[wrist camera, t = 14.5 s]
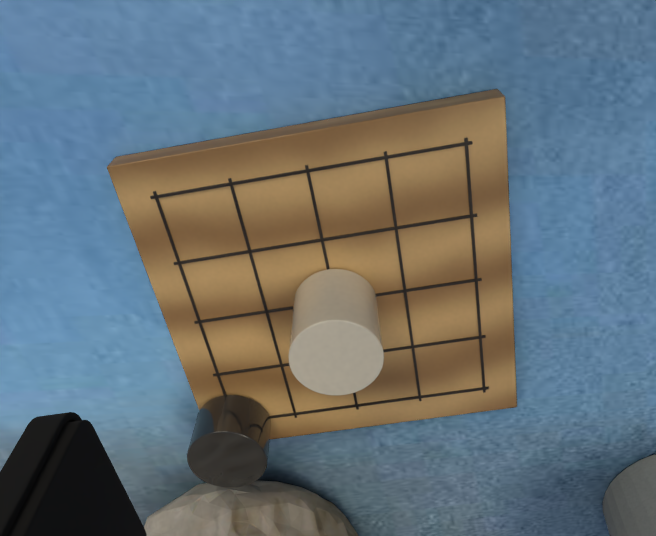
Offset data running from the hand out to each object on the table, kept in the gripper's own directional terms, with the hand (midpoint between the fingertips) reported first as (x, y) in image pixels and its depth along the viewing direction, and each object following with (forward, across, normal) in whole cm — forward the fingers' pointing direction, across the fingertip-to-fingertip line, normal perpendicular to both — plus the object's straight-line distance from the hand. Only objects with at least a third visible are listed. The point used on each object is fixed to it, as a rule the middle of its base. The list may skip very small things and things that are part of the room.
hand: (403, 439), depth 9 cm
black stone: (+23, +11, +20) cm, 32 cm away
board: (+24, +3, +12) cm, 27 cm away
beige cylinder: (+23, +3, +12) cm, 26 cm away
